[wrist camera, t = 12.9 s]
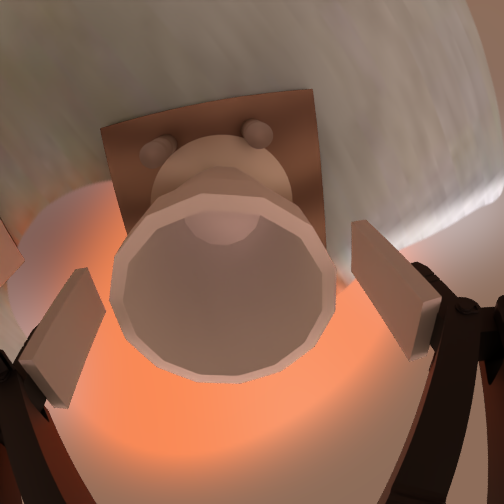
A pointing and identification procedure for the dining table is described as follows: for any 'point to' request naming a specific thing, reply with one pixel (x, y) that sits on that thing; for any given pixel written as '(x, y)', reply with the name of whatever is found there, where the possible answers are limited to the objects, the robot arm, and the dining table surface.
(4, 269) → the gable box
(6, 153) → the dining table surface
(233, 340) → the foam cup
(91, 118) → the dining table surface
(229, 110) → the pin board
